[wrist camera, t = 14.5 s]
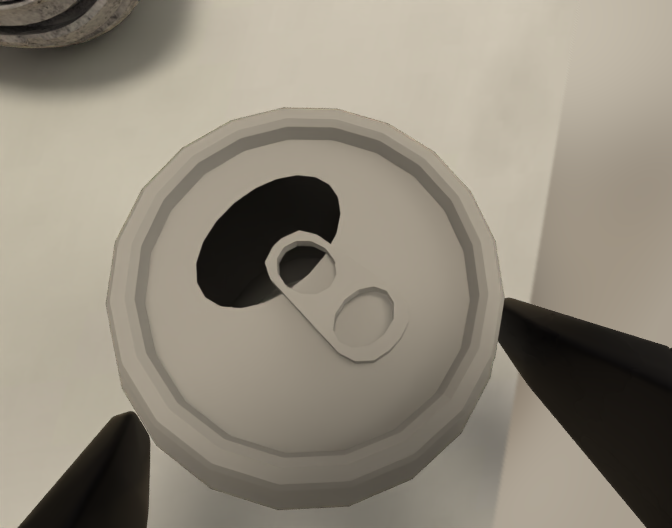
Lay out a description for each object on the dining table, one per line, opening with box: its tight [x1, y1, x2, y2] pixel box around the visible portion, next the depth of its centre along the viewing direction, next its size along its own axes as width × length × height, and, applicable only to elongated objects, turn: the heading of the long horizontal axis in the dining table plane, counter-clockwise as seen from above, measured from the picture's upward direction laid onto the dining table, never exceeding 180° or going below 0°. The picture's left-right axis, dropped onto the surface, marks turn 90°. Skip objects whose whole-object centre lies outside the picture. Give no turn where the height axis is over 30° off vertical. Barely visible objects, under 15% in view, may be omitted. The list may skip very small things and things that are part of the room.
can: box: [106, 107, 505, 510], centre depth 12 cm, size 8×8×12 cm
